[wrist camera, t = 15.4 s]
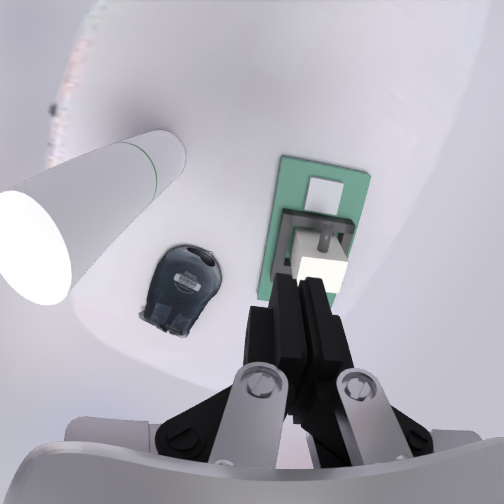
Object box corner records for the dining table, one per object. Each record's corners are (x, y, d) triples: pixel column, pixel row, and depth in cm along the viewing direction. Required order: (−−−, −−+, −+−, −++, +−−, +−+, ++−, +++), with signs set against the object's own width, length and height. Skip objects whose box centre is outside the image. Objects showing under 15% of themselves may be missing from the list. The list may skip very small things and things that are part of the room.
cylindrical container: (123, 154, 35) (-25, 238, 13) (163, 118, 32) (12, 162, 10) (155, 195, 37) (41, 320, 15) (197, 162, 35) (94, 270, 13)
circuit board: (281, 155, 34) (283, 161, 31) (367, 172, 35) (376, 179, 32) (257, 293, 44) (257, 308, 41) (329, 301, 44) (333, 316, 41)
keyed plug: (298, 202, 35) (307, 229, 28) (338, 208, 36) (355, 235, 29) (288, 260, 39) (292, 296, 32) (324, 264, 39) (336, 300, 32)
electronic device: (197, 323, 49) (234, 263, 41) (185, 347, 45) (222, 288, 37) (150, 296, 49) (175, 229, 40) (134, 317, 44) (156, 250, 36)
